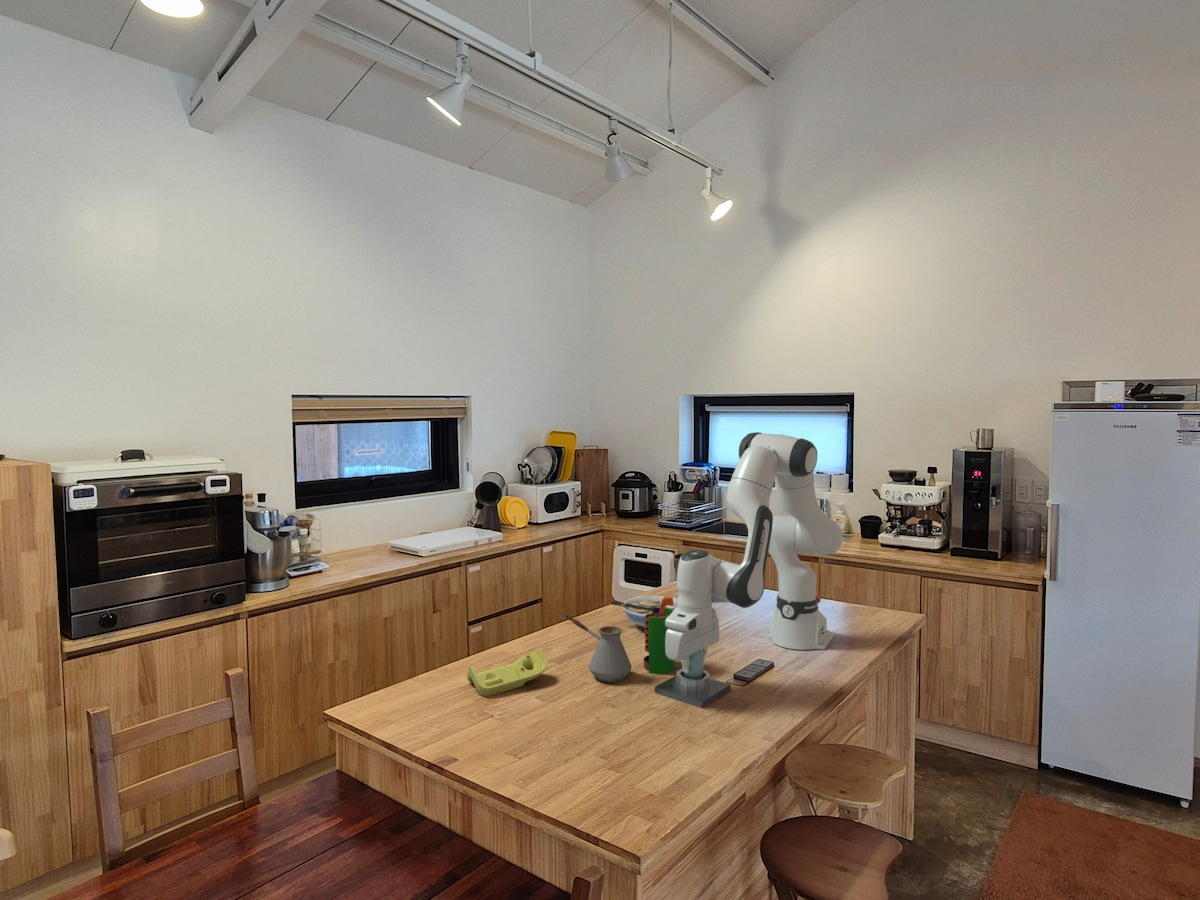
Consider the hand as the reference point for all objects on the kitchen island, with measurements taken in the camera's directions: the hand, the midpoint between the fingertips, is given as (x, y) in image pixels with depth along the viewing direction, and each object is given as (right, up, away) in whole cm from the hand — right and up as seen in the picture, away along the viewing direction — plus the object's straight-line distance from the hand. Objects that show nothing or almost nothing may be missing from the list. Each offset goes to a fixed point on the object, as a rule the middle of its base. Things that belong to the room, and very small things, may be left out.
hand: (693, 668), depth 182 cm
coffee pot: (-25, -5, +12) cm, 29 cm away
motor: (-7, -5, +17) cm, 19 cm away
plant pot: (+11, 0, +85) cm, 86 cm away
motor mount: (0, -6, 0) cm, 6 cm away
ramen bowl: (-5, -3, +52) cm, 52 cm away
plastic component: (-48, -6, +5) cm, 48 cm away
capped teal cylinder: (0, -3, 0) cm, 3 cm away
